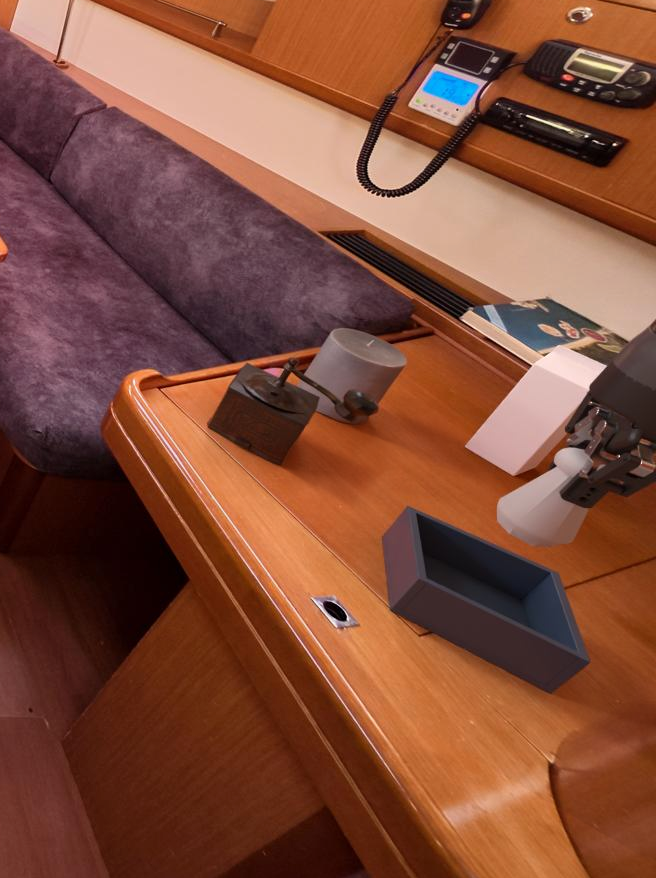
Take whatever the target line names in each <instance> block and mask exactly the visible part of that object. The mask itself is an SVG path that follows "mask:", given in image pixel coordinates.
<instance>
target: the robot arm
mask: <svg viewBox="0 0 656 878" xmlns="http://www.w3.org/2000/svg"><path fill="white" fill-rule="evenodd" d="M606 366H607V367H606V368H605V369H604V370H603V371H602V372H601V373H600V374H599V375H598V376H597V378H596V379H595V380H594V381H593V382H592V383H591V384H590V386H589V391H588V392H587V394H586V396H585V397H584V399H583V401H582V402H581V404H580V405H579V407H578V408H577V410H576V411H575V413H574V414H573V416H572V418H571V419H570V421H569V422H568V424H567V425H566V426H565V432H566V433H567V434H569V436H567V437H566V438H565V440H564V441H565V442H564V444H565V445H566V446H565V447H564V448H578V449H583V450H585V451H584V453H585V455H586V456H588V460H587V461H586V462H585V464H584V465H583V467H582V468H581V470H580V471H579V472H578V473H577V474H576V475H575V476H574V477H573V478H572V479H571V480H570V481H569V482H568V483H567V484H566V485H565V486H564V487H563V488H562V489H561V490H560V492H559V493H560V496H561V498H562V499H563V500H565V501H568V502H570V503H573V504H575V505H578V506H580V507H583V508H589V509H592V508H593V507H594V506H595V505H597V504H598V502H599V501H600V500H601V499H603V498H604V497H605V496H606V495H607V494H608V493H609V492H610V493H613V494H615V495H618V496H621V497H623V498H629V497H631V496H633V495H635V494H636V493H638V492H640V491H642V490H643V489H645V488H647V487H649V486H651V485H653V484H654V483H656V462H655V459H654V456H656V318H655V319H654V320H653V321H652V322H651V324H650V325H648V326H647V327H645V329H644V330H643V331H641V332H639V333H638V334H637V335H635V336H634V337H632V339H631V340H630V341H628V343H626V345H625V346H624V347H623V348H622V349H621V350H620V351H619V352H618V353H617V355H616V356H615V357H614V358H613V359H612V360H611V361H610V362H609V363H608V364H607V365H606ZM607 454H608V455H612V456H614V457H615V458H613V457H610V456H607ZM602 464H604V465H605V466H604V467H602V468H600V469H599V470H597V469H598V467H599V466H600V465H602ZM555 467H557V465H556V464H555V463H554V459H553V460H552V461H550V463H549V464H548V468H549V471H550V470H552V469H554V468H555ZM596 470H597V471H596Z"/></svg>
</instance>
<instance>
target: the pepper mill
mask: <svg viewBox="0 0 656 878" xmlns="http://www.w3.org/2000/svg"><path fill="white" fill-rule="evenodd" d="M299 364H300V361H299V359H298V358H296V357H294V356H293V357H289V358H288V359H287V362H286V363H285V362H284V364H283V368H284V369H283V371H282V372H281V373H280V375H279V377H278V376H276V375H274V374H272V373H270V372H268V371H265V370H264V369H262V368H260V367H258V366H255V365H254V364H251V363H249V362H246V363H245V364H244V365H242V367H241V368H240V369H239V370H238V372H237V373H236V375H235V376H234V377H233V378H232V380H231V382H230V383H229V385H228V387H227V389H226V391H225V392H224V394H223V396H222V398H221V400H220V402H219V404H218V405H217V407H216V408H215V411H214V412H213V413H212V414H211V416H210V418H209V419H208V420H207V423H206V424H207V428H209V429H211V430H212V431H214V432H215V433H217V434H218V435H221V436H222V437H224V438H226V439H228V440H229V441H231V442H233V443H234V444H236V445H238V446H240V447H241V448H243V449H245V450H247V451H249V452H252V453H254V454H256V455H258V456H259V457H261V458H264V460H267V461H270V462H272V463H275V464H276V465H278V466H283V465H284V463H285V462H286V460H287V459H288V458H289V456H290V454H291V452H292V450H293V449H294V446H295V445H296V443H298V440H299V439H300V437H301V435H302V433H303V432H304V431H305V429H306V427H307V426H308V425H309V424H310V422H311V420H312V418H313V416H314V414H315V413H316V412H317V411H316V409H317V406H318V401H319V399H320V397H318V396H316V395H314V394H312V393H310V392H308V391H306V390H304V389H302V388H300V387H297V385H295V384H294V383H291V382H289V381H287V380H288V378H289V377H290V375H291V373H292V374H293V375H294V376H295V377H296V378H298V379H299V380H302V381H304V382H305V383H307V384H309V385H310V386H312V387H314V388H315V389H317V390H318V391H319V392H321V393H322V394H324V395H325V396H327V397H328V398H329V399H330V400H331V401H332V402H333V403H334V405H335V406H334V408H335V411H336V412H337V413H338V414H339V415H340V416H341V417H342V418H344V419H346V420H348V421H350V422H354V421H357V418H358V416H369V417H371V416H373V415H376V414H377V413H379V409H380V408H379V403H377V402H376V401H375V400H374V399H373V398H372V397H371V396H370V395H368V394H367V393H365V392H362V391H360V390H356V389H353V390H348V391H347V393H346V394H345V395H344V397H343V399H344V402H343V403H342V402H341V401H340V400H339V399H338V398H337V397H336V396H335V395H334V394H332V393H331V392H330V391H328V390H327V389H325V388H324V387H322V386H321V385H319V384H318V383H316V382H315V381H313V380H311V379H310V378H308V377H307V376H305V375H304V374H305V373H304V374H303V373H302V372H301V371H299V370H297V366H298V365H299Z"/></svg>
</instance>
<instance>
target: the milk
mask: <svg viewBox="0 0 656 878" xmlns="http://www.w3.org/2000/svg"><path fill="white" fill-rule="evenodd" d="M606 367H607V365H606V364H604V363H601V362H599V361H597V360H595V359H592V358H591V357H588V356H586V355H584V354H582V353H579V352H577V351H575V350H573V349H570V348H568V347H565V346H564V345H556V346H555V347H554V349H552V351H551V352H549V353H548V354H547V355H545V356H543V357H542V358H540V359H538V360H537V361H536V362H534V363H533V364H532V366H531V367H530V368H529V369H528V370H527V372H526V373H525V374H524V375H523V376H522V377H521V379H520V380H519V381H518V382H517V383H516V385H515V386H514V387H513V388H512V389H511V391H510V392H509V393H508V394H507V395H506V396H505V398H503V400H502V401H500V404H499V405H498V406H497V407H496V408H495V409H494V411H493V412H492V413H491V414H490V415H489V417H488V418H487V419H486V420H485V422H483V424H482V425H481V426H480V428H478V429H477V431H476V432H475V433H474V434H473V436H472V437H471V438H470V440H468V441H467V443H466V444H465V446H464V448H466V449H467V450H469V451H471V452H472V453H474V454H475V455H477V456H479V457H481V458H482V459H484V460H486V461H487V462H489V463H490V464H492V465H494V466H496V467H498V468H499V469H500V470H502V471H504V472H506V473H507V474H509V475H511V476H513V477H515V476H518V475H520V474H523V473H525V472H528V471H530V470H533V469H535V468H536V467H537V466H538V465H539V464H541V462H542V461H543V460H545V458H546V457H547V456H548V455H549V453H550V452H551V451H552V450H553V449H554V448H555V447H556V446H557V445H558V444H559V443H560V442H561V441H562V440H563V439H564V438H565V437H566V436H567V434H568V433H566V432H565V426H566V425H567V424H568V422H569V421H570V419H571V418H572V416H573V414H574V413H575V411H576V410H577V408H578V407H579V405H580V404H581V402H582V401H583V399H584V397H585V396H586V394H587V392H588V391H589V386H590V384H591V383H592V382H593V381H594V380H595V379H596V378H597V376H598V375H599V374H600V373H601V372H602V371H603V370H604V369H605V368H606Z"/></svg>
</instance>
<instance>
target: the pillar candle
mask: <svg viewBox="0 0 656 878" xmlns="http://www.w3.org/2000/svg"><path fill="white" fill-rule="evenodd" d="M407 364H408V358H407V357H406V355H405V354H404V353H403V351H401V350H400V349H399V348H397V347H396V346H394V345H392V344H391V343H389V342H388V341H386V340H384V339H382V338H380V337H378V336H375V335H373V334H370V333H368V332H365V331H360V330H358V329H355V328H354V329H353V328H348V327H347V328H346V327H339V328H334V329H333V330H332V331H331V332H330V333H329V335H328V336H327V338H326V339H325V341H324V342H323V344H322V346H321V347H320V348H319V350H318V351H317V353H316V355H315V357H314V358H313V360H312V361H311V363H310V365H309V366H308V367H307V369H306V370H305V372H304V375H305V376H307V377H308V378H310V379H311V380H313V381H315V382H316V383H318V384H319V385H321V386H322V387H324V388H325V389H327V390H328V391H330V392H331V393H332V394H334V395H335V396H336V397H337V398H338V399H339V400H340V401H341V402H342V403H343V402H344V399H343V397H344V395H345V394H346V393H347V391H348V390H353V389H356V390H360V391H362V392H365V393H367V394H368V395H370V396H371V397H372V398H373V399H374V400H375V401H376V402H377V403H378V404H380V402H381V401H382V399H384V396H385V395H386V394H387V392H388V391H389V389H390V388H391V386H392V385H393V384H394V382H395V381H396V380H397V378H398V377H399V375H400V374H401V372H402V371H403V369H405V367H406V366H407ZM296 386H297V387H300V388H302V389H304V390H306V391H308V392H310V393H312V394H314V395H316V396H318V397H320V399H319V401H318V406H317V409H316V411H315V412H317V413H320V414H322V415H325V416H326V417H329V418H331V419H333V420H336V421H338V422H341V423H344V424H351V425H352V424H353V425H360V424H362V423H364V422H366V420H368V419H369V418H370V416H358V418H357V421H354V422H350V421H348V420H346V419H344V418H342V417H341V416H340V415H339V414H338V413H337V412H336V411H335V408H334V406H335V405H334V403H333V402H332V401H331V400H330V399H329V398H328V397H327V396H325V395H324V394H322V393H321V392H319V391H318V390H317V389H315V388H314V387H312V386H310V385H309V384H307V383H305V382H304V381H302V380H301V379H299V382H298V384H296Z"/></svg>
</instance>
